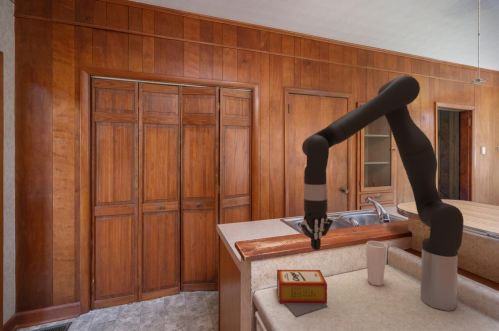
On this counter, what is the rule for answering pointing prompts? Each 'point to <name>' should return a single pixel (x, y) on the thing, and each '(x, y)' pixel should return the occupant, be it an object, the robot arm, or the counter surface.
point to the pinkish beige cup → (375, 262)
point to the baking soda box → (301, 286)
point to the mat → (304, 308)
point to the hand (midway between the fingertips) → (315, 249)
